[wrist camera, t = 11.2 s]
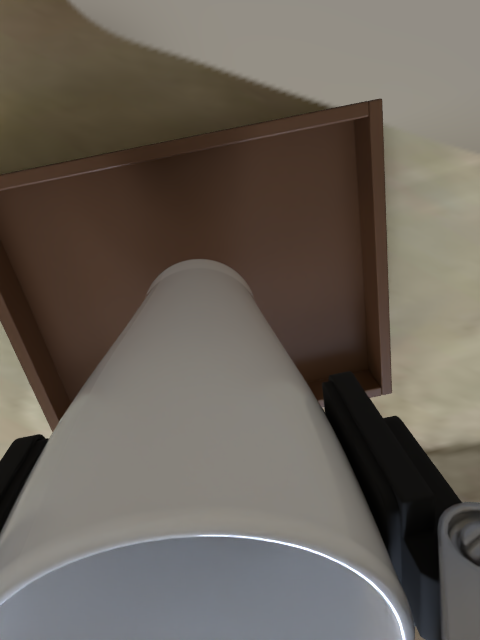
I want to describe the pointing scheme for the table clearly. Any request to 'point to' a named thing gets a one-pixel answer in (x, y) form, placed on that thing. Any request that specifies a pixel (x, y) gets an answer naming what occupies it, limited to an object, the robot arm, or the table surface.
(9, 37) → the table surface
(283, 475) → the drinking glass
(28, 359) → the tray
